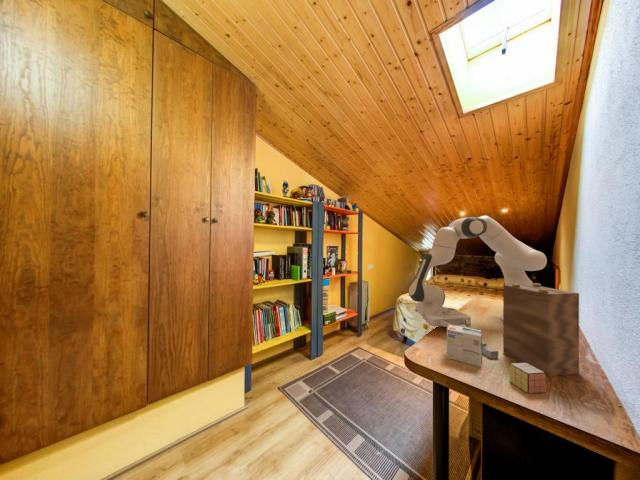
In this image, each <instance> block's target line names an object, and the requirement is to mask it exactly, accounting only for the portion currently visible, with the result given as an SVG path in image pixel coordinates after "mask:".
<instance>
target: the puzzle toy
mask: <svg viewBox="0 0 640 480" xmlns="http://www.w3.org/2000/svg"><path fill="white" fill-rule="evenodd" d="M509 383H511V384H513V385H514V386H515V387H518V388H519V389H521V390H522V391H524V392H525V393H526V394H538V393H540V394H541V393H546V375H545V373H544V372H543V371H541V370H539V369H537V368H535V367H533V366H531V365H530V364H528V363H521V362H517V363H516V362H515V363H514V362H512V363H510V364H509Z"/></svg>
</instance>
